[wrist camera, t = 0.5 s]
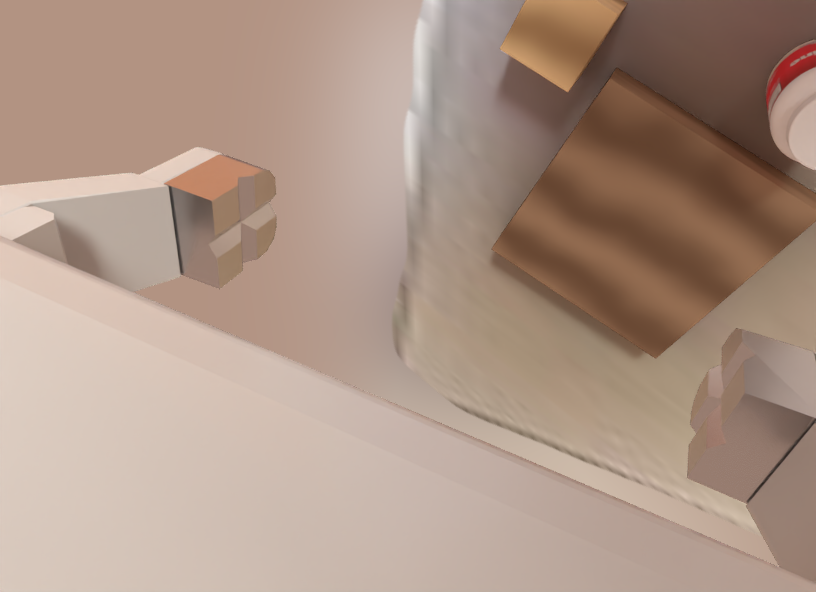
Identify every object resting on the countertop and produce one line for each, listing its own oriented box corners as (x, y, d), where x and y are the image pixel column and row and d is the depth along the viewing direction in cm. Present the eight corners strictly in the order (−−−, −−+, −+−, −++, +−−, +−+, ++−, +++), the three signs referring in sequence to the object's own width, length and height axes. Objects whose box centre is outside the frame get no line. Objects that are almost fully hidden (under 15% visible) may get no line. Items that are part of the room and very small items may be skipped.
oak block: (559, -40, 44) (543, -33, 40) (627, 3, 43) (618, 14, 40) (517, 36, 48) (499, 49, 44) (580, 75, 47) (567, 92, 44)
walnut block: (617, 65, 46) (609, 78, 43) (817, 192, 45) (823, 214, 42) (503, 230, 58) (491, 249, 55) (659, 333, 57) (655, 358, 54)
